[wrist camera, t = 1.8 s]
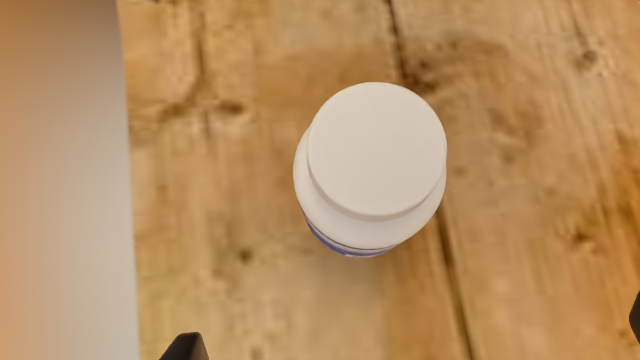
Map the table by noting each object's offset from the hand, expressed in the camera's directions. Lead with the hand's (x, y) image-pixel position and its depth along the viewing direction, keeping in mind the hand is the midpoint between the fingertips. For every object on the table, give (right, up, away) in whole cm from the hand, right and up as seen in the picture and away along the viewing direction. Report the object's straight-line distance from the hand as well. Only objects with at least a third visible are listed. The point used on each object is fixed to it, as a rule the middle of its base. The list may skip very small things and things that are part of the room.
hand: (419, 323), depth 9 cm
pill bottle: (0, +2, +12) cm, 12 cm away
